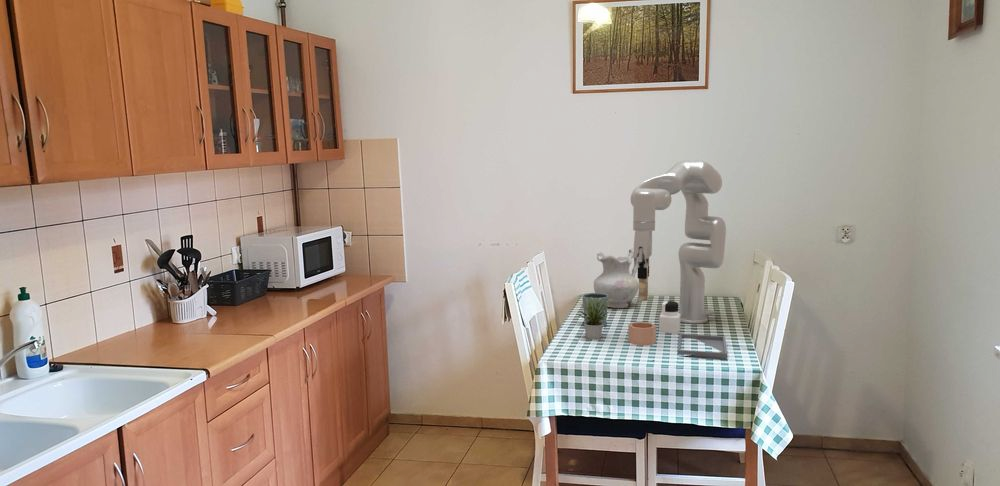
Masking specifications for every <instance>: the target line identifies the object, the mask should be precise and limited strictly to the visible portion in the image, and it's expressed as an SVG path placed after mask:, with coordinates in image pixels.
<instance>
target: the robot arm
mask: <svg viewBox="0 0 1000 486" xmlns="http://www.w3.org/2000/svg"><path fill="white" fill-rule="evenodd" d="M722 186H723V180H722V176H721V174H720V172H719V171H718V170H717V169H715V167H714V166H712V164H710V163H709V162H708V161H704V160H680V161H677V162H676V163H675V164H674V165H673V166H671V167H670V168H669V169H668V170H667V171H666V172H665V173H664V174H660V175H658V176H654V177H652V178H649V179H647V180H644V181H642V182H641V183H639V184H638V185H637V186H636V187H635V188H634V189H633V190H632V193H631V196H630V204H631V206H632V208H633V210H632V212H633V215H632V218H633V219H632V220H633V221H632V226H633V227H632V230H633V231H634V238H633V239H634V240H633V250H634V253H633V258H632V259H633V260H634V259H636V258H637V257H638V268H637V279H638V280H639V279H647V268H646V262H648V278H649V277H650V258H651V256H652V254H653V253H652V252H653V231H655V230H656V211H664V210H667V209H668V208H669V207H670V206H671V203H672V196H673V195H676V194H677V193H679V192H680V191H681V193H682V195H683V197H684V199H685V203H686V204H685V206H686V207H685V220H684V234H685V235H684V236H686V238H688V239H692V240H699V241H700V240H701V241H709V242H710V243H702V242H686V243H683V244H681V245H680V246H679V249H678V261H679V267H680V268H679V269H680V270H679V271H680V279H679V281H680V282H679V284H680V285H679V286H680V287H679V288H680V289H679V313H680V314H681V315H680V323H683V324H695V325H696V324H704V323H706V322H708V320H709V318H708V317H707V316H708V315H709V316H712V315H715V314H716V311H715V310H714V309H710V310H709V309H706V308H705V288H706V287H705V284H706V279H705V275H704V272H703V270H702V269H701V268H704V269H705V268H706V269H719V268H721V266H722V265H723V263H724V259H725V247H726V236H727V232H726V231H727V227H726V222H725V220H724V219H723V218H722V217H719V216H709V202H708V199H707V197H706V196H705V194H710V195H713V194H717V193H719V192H720V190H721V188H722Z"/></svg>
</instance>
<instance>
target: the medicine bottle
mask: <svg viewBox="0 0 1000 486" xmlns="http://www.w3.org/2000/svg"><path fill="white" fill-rule="evenodd" d="M679 306H680V303H678V302H676V301H673V300H666V301H663V302H662V303H661V313H660V315H659V319H658V320H659V321H658V322H659V323H658V324H659V325H658V327H659V328H658V332H659V333H668V334H680V332H681V322H680V315H681V314H680V312H679Z"/></svg>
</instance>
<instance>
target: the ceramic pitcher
mask: <svg viewBox="0 0 1000 486" xmlns="http://www.w3.org/2000/svg"><path fill="white" fill-rule="evenodd" d="M633 253H634V248H630V249H629V250H628V254H627V255H626V256H618V257H616V256H613V255H611V254H610V255H609V254H607V255H604V253H603V252H597V253H596V259H597V261H599V262H601V263H602V267H603V268H602V269H603V271H602V272H601V274H600V275H599V276H597V277H596V278H595V279H594V281H593V291H594V293H603V294H607V295H608V300H611V301H609V302H608V304H607V305H609V306H607V308H611V309H612V308H613V309H626V308H628V307H629V306H630V305H629V303H628V302H631V301H632V300H633V299H634V298H635V297H636V295H637V294H638V293H639V281H638V280H637V279H636V278H635V276H636V274H637V273H638V257H637V258H636V259H634V258H633ZM632 262H633V267H632V269H631V273H630V267H631V264H632ZM610 304H613V305H610Z"/></svg>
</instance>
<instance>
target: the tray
mask: <svg viewBox="0 0 1000 486" xmlns="http://www.w3.org/2000/svg"><path fill="white" fill-rule="evenodd" d="M678 334H679V335H678V343H677V345H678V346H677V355H679V356H677V358H691V359H692V358H693V359H694V358H695V359H703V360H705V359H707V360H721V361H722V360H723V361H727V360H728V349H727V340H726V339H727V338H726V336H725V335H723V336H722V335H704V334H693V333H692V334H691V333H690V334H689V333H688V334H687V333H678ZM682 339H694V340H697V341H699V342H701V343H703V344H704V345H708V346H709V347H711V348H712V349H715V350H717V351H705V350H703V351H702V350H689V349H687V350H686V349H681V348H682V347H681V345H682Z"/></svg>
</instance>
